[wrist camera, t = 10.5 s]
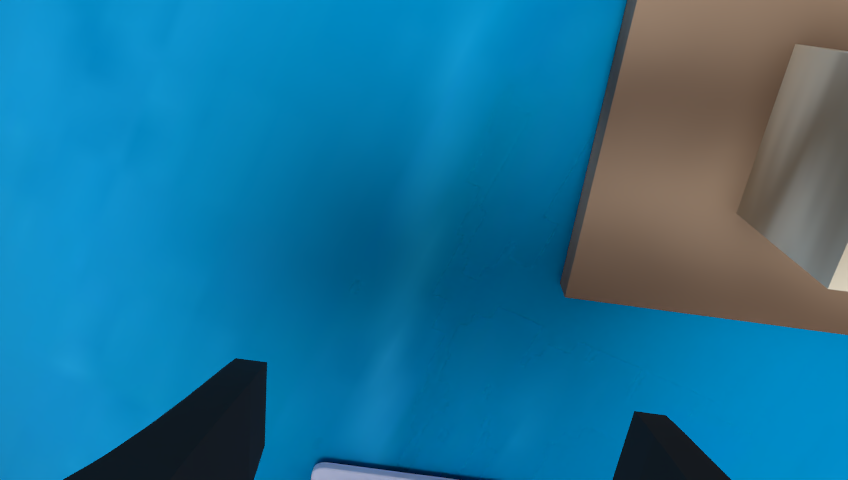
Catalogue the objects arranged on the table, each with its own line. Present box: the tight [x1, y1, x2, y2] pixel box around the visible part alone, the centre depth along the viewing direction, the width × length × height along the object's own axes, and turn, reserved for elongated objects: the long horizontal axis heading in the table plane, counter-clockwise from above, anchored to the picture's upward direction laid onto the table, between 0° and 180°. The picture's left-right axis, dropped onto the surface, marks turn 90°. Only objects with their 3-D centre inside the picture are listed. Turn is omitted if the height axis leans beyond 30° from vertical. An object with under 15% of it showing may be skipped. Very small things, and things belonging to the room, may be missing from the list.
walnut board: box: [560, 0, 848, 335], centre depth 18 cm, size 12×14×1 cm
